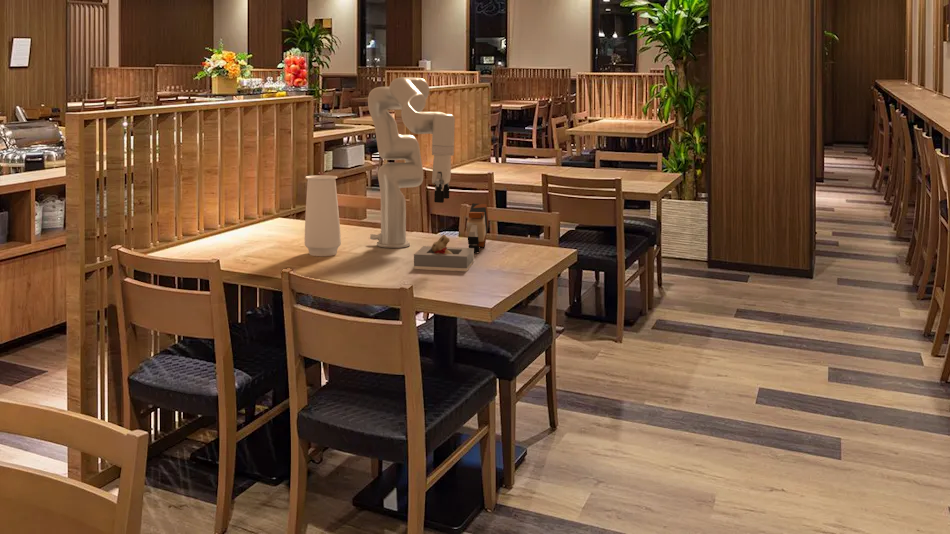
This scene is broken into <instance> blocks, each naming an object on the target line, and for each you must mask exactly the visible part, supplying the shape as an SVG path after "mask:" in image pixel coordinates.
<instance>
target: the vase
mask: <svg viewBox="0 0 950 534" xmlns="http://www.w3.org/2000/svg"><path fill="white" fill-rule="evenodd" d="M305 179H306V180H307V183H306V185H307V186H306V200H305V218H304V221H305V222H304V246H305V247H306V248H307V249H308V253H309V255H310V256H312V257H330V256H335V255H337V254H338V249H339V247H340V246H341V245H342V240H341V239H342V238H341V235H342V234H341V224H340V212H339V210H340V209H339V202H338V193H337V192H338V191H337V183H336V179H338V176H337V175H328V174H325V175H324V174H322V175H321V174H319V175H318V174H316V175H315V174H313V175H307V176H305Z"/></svg>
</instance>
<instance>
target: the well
mask: <svg viewBox="0 0 950 534" xmlns="http://www.w3.org/2000/svg"><path fill="white" fill-rule="evenodd" d="M446 247H447V250H449V251H450V252H452V253H453V254H440V253H434V251H433V250H432V245H431V246H429V245H427V246H426V245H425V246H424V245H423V246H422V247H421V248H419V250H417V251H416V252H415V253H414V254H413V270H424V271H425V270H427V271H428V270H429V271H452V272H468V271H469V269H470V268H471V267H472V265H473V264H474V262H475V260H474V259H475V253H474V248H469V247H456V246H455V247H454V246H453V247H452V246H449V247H448V246H446Z"/></svg>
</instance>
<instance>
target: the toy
mask: <svg viewBox="0 0 950 534" xmlns="http://www.w3.org/2000/svg"><path fill="white" fill-rule="evenodd" d="M488 212H489V211H488V204H487V203H475V202H474V203H471V207H470V209H469V212H468V218H467V221H466V227H467V244H468V248H474V252H479V253H480V252H481V251H480V248H479V247H485V248H486V242H487V234H488V231H489V226H490V225H489V213H488Z"/></svg>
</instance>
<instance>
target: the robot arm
mask: <svg viewBox="0 0 950 534" xmlns="http://www.w3.org/2000/svg"><path fill="white" fill-rule="evenodd" d="M429 94H430V86H429V84H428V82H427V81H426V80H425V79H424V78H421V77H410V76H408V77H407V76H406V77H405V76H404V77H397V78H396V77H395V78H394V79H393V80H391V82H390V84H389V86H378V87H375V88H374V87H373V89H371V90H370V92H369V93H368V97H367V107H368V111H369V115H370V117H371V120H372V122H373V126H374V131H375V138H376V146H377V152H378V155H379V157H380V158H381V159H383V160H386V161H390V160H391V161H398V160H399V161H402V160H404V162H389V163H388V162H387V163H385V164H382V165H380V167H379V168H378V170H377V179H378V185H379V191H380V233H378V234H373V233H371V234H370V235H369V237H370V240H372V241H374V240H376V241H377V242H376V245H377V247H380V248H384V249H385V248H386V249H399V248H407V247H409V246H410V244H411V242H410V241H408V240H407V232H406V231H407V229H406V228H407V218H406V217H407V208H406V207H407V204H406V203H407V202H406V201H407V200H406V196H405V195H404V194H403V192H402V191H401V189H402V188H417V187H419V186H421V185H422V184H423V181H424V168H423V162H422V156H421V155H422V154H421V149H420V143H419V141H418V140H417V138H416V137H415V135H416V134H417V135H429V134H430V135H431V137H432V138H431V139H432V140H431V155H432V156H433V162H432V175H431V176H432V177H431V183H432V184H433V185H434V194H433V195H434V199H433V200H434V201H433V202H434V203H436V204H437V203H442V204H443V203H444V202H445V200H444V199H447V200H448V199H449V198H450V181H451V176H452V156H454V154H455V129H456V128H455V125H456V124H455V123H456V119H455V115H453V114H451V113H445V112H442V111H424V109H425V108H426V103H427V99H428V97H429ZM390 110H401V120H402V123H403V125H404V126H405V128H407V129H408V130H409V131H410V132H411V133H412V134H415V135H412V134H400V133H399V130H398V123H397V120H396V118H394V117H393V115H392V114H391V113H390V112H389V111H390Z"/></svg>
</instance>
